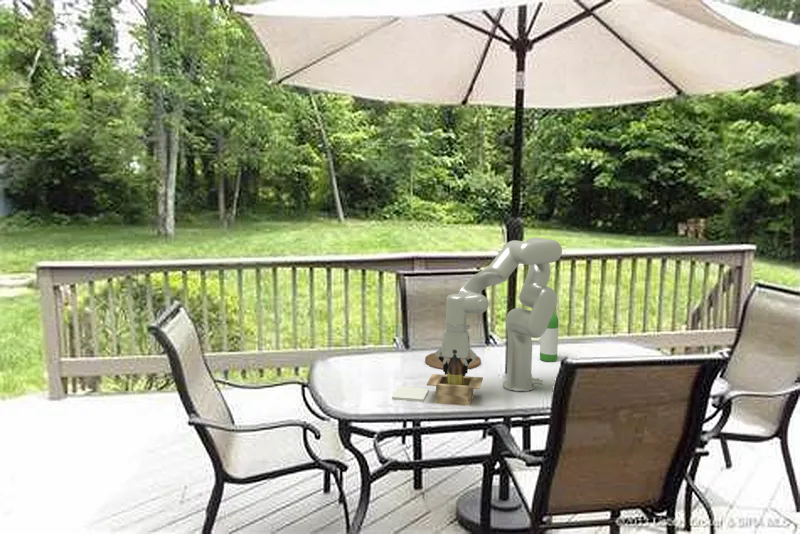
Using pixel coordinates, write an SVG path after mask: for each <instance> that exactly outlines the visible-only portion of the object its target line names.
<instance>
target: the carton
mask: <svg viewBox="0 0 800 534" xmlns="http://www.w3.org/2000/svg"><path fill="white" fill-rule="evenodd" d="M483 379H484V377H481V376H468V375H467V376H466V375H465V376H464V385H452V384H447V375H445V374H437V373H436V374H435V373H432V374H431V376H430V377H429V379H428V381H427V383H426V386H428V387H429V386H430V387H432V386H433V387H435V404H439V405H440V404H442V405H453V406H465V405H470V406H471V404H472V401H473V398H472V397H474V392H475V391H474V390H481V387H482V384H483ZM471 400H472V401H471Z"/></svg>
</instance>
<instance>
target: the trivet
mask: <svg viewBox="0 0 800 534" xmlns="http://www.w3.org/2000/svg"><path fill="white" fill-rule="evenodd" d="M440 355H441V356H442V352H441V353H440ZM471 356H472V355H471V354H469V356H468V358H467V359H469V358H470V357H471ZM442 357H443V356H442ZM443 358H445V357H443ZM460 360H461V362H462V364H463V365H464V362H463V359H460ZM449 361H450V358H448V359H447V363H448V364H449ZM424 363H425V364H426V365H427V366H428V365H429V366H428V367H430V368H433V369H437V370H442V371H443V363H442V362H441V361H440V360H439V358H438V357H437V356H436V355H435V352H431V353H429V354H428V355H426V356H425V359H424ZM481 364H482V360H481V357H480V356H478V355H477V356H476V358H475V359H474V360H472V362H470V363H469V364H468V369H469V370H472V369H476V368H478V367H479V365H480V366H481Z"/></svg>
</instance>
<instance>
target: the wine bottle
mask: <svg viewBox="0 0 800 534" xmlns="http://www.w3.org/2000/svg"><path fill="white" fill-rule="evenodd" d="M554 312H555V311H554ZM554 312H553V315H552V317H551V320H550V322H549V324H548V327H547V329H546V331H545V332H544V334H543V335H542V336H540V337H539V338H540V339H539V359H540V360H541V361H544V362H550V363H551V362H556V361H557V360H558V350H559V349H558V346H559V341H558V340H559V318H558V316H557V314H556V313H554Z"/></svg>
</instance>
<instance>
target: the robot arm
mask: <svg viewBox="0 0 800 534" xmlns="http://www.w3.org/2000/svg"><path fill="white" fill-rule="evenodd" d="M562 254H563V247H562V245H561V243H560V242H558V241H557V240H555V239H547V238H543V237H542V238H541V237H530V238H528V239H527V240H525V241H522V240H516V239H515V240H514V239H513V240H510V241H508V242H507V243H506V244H505V245H504V247H502V249H501V250H500V251H499V253H498V254H497V255H496V256H495V257H494V258H493V260H492V261H491V262H490V264H489V265H488V266H487V267H486V268H484V269H482V270H480V271H479V272H477V273H476V274H474V275H473V276H471V277H470V278H469V279H468V280H466V282H465V283H464V284H462V287H461V288H460V289H459V291H458V292H457V293H452V294H448V295H447V296H446V302H445V307H446V308H445V329H444V330H443V336H442V344H441V346H440V348H438V350H436V351H435V352H434V353H435V355H436V356H437V357H438V358H439V360H440V361H441V362H442V363H443V370H442V372H443V373H444V375H447V367H448V363H447V359H448V358H452V357H453V355H454V353H453V350H457V353H456V356H457V358H461V359H463V362H464V365H463V376H466V375H467V374H468V364H469V363H470V362H472V360H474V359H475V358H476V356H478V355H477V354H476V353H475V352H474V351H473V349H471V345H470V333H469V331H468V330H470V329H471V325H469V324H467V315H469V314H471V315H472V314H473V315H479V314H483V313H485V312H486V311H487V310H488V309H489V305H490V303H489V300H488V298H487V297H486V296H485V295H484V294H481V292H482V291H483V290H485V289H486V288H489V287H491V286H496V285H500V284H502V283H504V282H506V281H507V280H508V278H510V276H511V275H512V274H513V272H514V271H515V269H516V268H517V267H518V266H519V265H520V264H521V265H526V266H529V268H528V272H527V274H526V278H525V280H524V283H523V284H522V288H521V289H520V293H519V295H518V298H519V299H518V300H519V302H520V303H521V304H522V305H523V306H524V307H525V306H526V307H528V308H530V309H531V310H529V309H525V308H522V307H521V308H520V307H517V308H513V309H511V310H509V312H508V313H507V315H506V317H505V326H506V332H507V334H506V335H507V357H506V358H507V359H506V362H507V363H506V379H505V380H504V381H503V382H502V388H504V389H505V390H508V391H511V390H514V391H513V392H518V391H525V392H530V391H529V390H531V391H533V390H534V389H535V387H536V385H538V386H543V382H544V381H543V379H541V378H538V377H537V378H535V377H533V374H532V368H533V367H532V364H533V361H532V360H533V339H537V338H538V339H539V338H540V336H542V335H543V334H544V332H545V331H546V329H547V327H548V324H549V322H550V320H551V317H552V315H553V312H555V309H556V306H557V303H558V298H557V297H558V296H557V293H556V291H555V289H553V288H552V287H550V286H548V284H549V281H550V278H551V273H552V272H551V271H552V270H551V269H552V268H551V266H550V263H551V264H552V263H554V262H557V261H558V260H559V259H560V258H561V256H562ZM532 338H533V339H532ZM441 352H442V356H443V357H445V358H443V357H442V356H441V355H440V353H441ZM469 354H471V355H472V356H471V357H470V358H469V359H467V358H468V356H469ZM532 389H533V390H532Z"/></svg>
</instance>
